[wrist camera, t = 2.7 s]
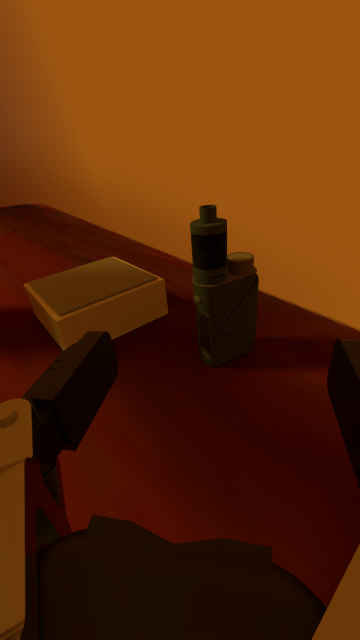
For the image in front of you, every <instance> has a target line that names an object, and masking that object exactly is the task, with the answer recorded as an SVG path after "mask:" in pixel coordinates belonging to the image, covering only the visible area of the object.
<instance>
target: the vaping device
mask: <svg viewBox="0 0 360 640" xmlns="http://www.w3.org/2000/svg"><path fill="white" fill-rule="evenodd" d="M199 209H200V219H197V220H194V221H192V222H191V223H190V229H191V241H193V242H191V244H192V257H194V258H192V259H193V274H194V278H193V286H194V300H195V304H196V314H197V329H198V344H199V354H200V356H201V358H202V360H203V361H204V362H205V363H207V364H209V365H212V366H218V365H221V364H223V363H225V362H227V361H230V360H232V359H234V358H236V357H239V356H241V355H243V354H245V353H248V352H250V351H251V350H252V344H254V342H255V335H256V318H257V302H258V285H259V279H258V275H257V274H256V272H257V269H256V268H255V267H254V266H253V264H254V256H253V255H252V254H250V253H244V252H237V253H231V254H229V255H227V220H226V219H223V218H217V216H216V205H204V206H200V207H199ZM192 234H193V235H192ZM195 259H196V260H195ZM200 267H201V268H200Z"/></svg>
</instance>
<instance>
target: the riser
mask: <svg viewBox="0 0 360 640" xmlns="http://www.w3.org/2000/svg"><path fill="white" fill-rule="evenodd" d="M23 286H24V288H25V291H26V293H27V295H28V298H29V300H30V303H31V305H32V308H33V310H34V313H35V315H36V317H37V318H38V319H39V321H40V322H41V323H42V325H43V326H44V327H45V328H46V330H47V331H48V332H49V333H50V335H51V336H52V337H53V338H54V340H55V341H56V342H57V344H58V345H59V346H60V347H61V349H62V350H63V351H64V350H65V349H67V348H68V347H70V346H71V345H73V344H74V343H77V342H78V341H79V340H80V339H81V338H82V337H83V335H84V334H85V333H86V332H87V331H107V332H109V334H110V335H111V339H112V340H113V339H115V338H117V337H119V336H121V335H123V334H125V333H128V332H130V331H132V330H134V329H136V328H138V327H140V326H142V325H145V324H147V323H149V322H151V321H153V320H155V319H157V318H160V317H162V316H164V315H166V314H168V306H167V298H166V290H165V282H164V279H163V278H160V277H158V276H156V275H154V274H151V273H149V272H147V271H145V270H142V269H140V268H138V267H136V266H133V265H131V264H129V263H127V262H124V261H122V260H120V259H118V258H115V257H109V258H106V259H102V260H99V261H96V262H93V263H89V264H86V265H83V266H80V267H76V268H73V269H70V270H67V271H63V272H60V273H57V274H53V275H50V276H47V277H44V278H40V279H37V280H34V281H31V282H28V283H27V284H23Z"/></svg>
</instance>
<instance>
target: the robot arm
mask: <svg viewBox="0 0 360 640" xmlns="http://www.w3.org/2000/svg"><path fill="white" fill-rule="evenodd" d="M117 373H118V362H117V358H116V354H115V350H114V346H113V343H112V339H111V335H110V334H109V332H107V331H87V332H86V333H85V334H84V335H83V337H82V338H81V339H80V340H79V341H78V342H77V343H74V344H73V345H71V346H70V347H68V348H67V349H65V350H64V351H63V352H62V353H61V354H60V355H59V356H58V357H57V358H56V359H55V362H53V363H52V364H51V365H50V366H49V367H48V370H46V371H45V372H44V373H43V374H42V375H41V376H40V378H39V379H38V380H37V381H36V382H35V383H34V384H33V386H32V387H31V388H30V389H29V390H28V391H27V392H26V394H25V395H24V396H23V397H22V398H21V399H12V400H8V401H5V402H3V403H1V404H0V640H360V544H359V546H358V548H357V550H356V552H355V554H354V556H353V558H352V560H351V562H350V564H349V566H348V568H347V570H346V572H345V574H344V576H343V578H342V580H341V582H340V584H339V586H338V588H337V590H336V592H335V594H334V596H333V598H332V600H331V602H330V604H329V606H328V608H326V607H325V606H324V604H323V603H322V602H321V601H320V599H319V598H318V597H317V596H316V595H315V594H314V593H313V592H312V591H311V590H310V589H309V588H308V587H307V586H306V585H305V584H303V583H302V582H301V581H300V580H299V579H297V578H296V577H295V576H294V575H292V574H291V573H289V572H288V571H286V570H285V569H283V568H282V567H280V566H278V565H276V564H274V563H273V562H272V549H271V547H268V546H262V545H257V544H251V543H246V542H240V541H235V540H229V539H224V538H221V539H213V540H205V541H197V542H188V543H180V544H174V543H170V542H168V541H166V540H164V539H163V538H161V537H159V536H157V535H155V534H154V533H152V532H150V531H148V530H146V529H144V528H143V527H141V526H139V525H137V524H135V523H133V522H130V521H125V520H119V519H114V518H108V517H103V516H97V515H92V518H91V520H90V522H89V525H88V527H87V529H83V530H79V531H76V532H73V533H72V531H71V528H70V525H69V522H68V519H67V515H66V509H65V501H64V493H63V485H62V477H61V469H60V462H59V459H58V455H59V454H60V452H61V450H62V449H63V450H70V451H76V449H77V448H78V446H79V444H80V442H81V440H82V438H83V437H84V435H85V433H86V431H87V429H88V428H89V426H90V424H91V422H92V420H93V419H94V417H95V415H96V413H97V411H98V410H99V408H100V406H101V404H102V402H103V401H104V399H105V397H106V395H107V393H108V392H109V390H110V388H111V386H112V384H113V383H114V381H115V379H116V377H117ZM327 387H328V393H329V396H330V399H331V403H332V406H333V409H334V412H335V415H336V418H337V421H338V424H339V427H340V430H341V433H342V436H343V439H344V442H345V445H346V448H347V451H348V455H349V458H350V461H351V464H352V467H353V470H354V473H355V476H356V479H357V482H358V485H359V488H360V340H352V339H337V340H336V342H335V344H334V349H333V353H332V358H331V362H330V367H329V371H328V377H327Z"/></svg>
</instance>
